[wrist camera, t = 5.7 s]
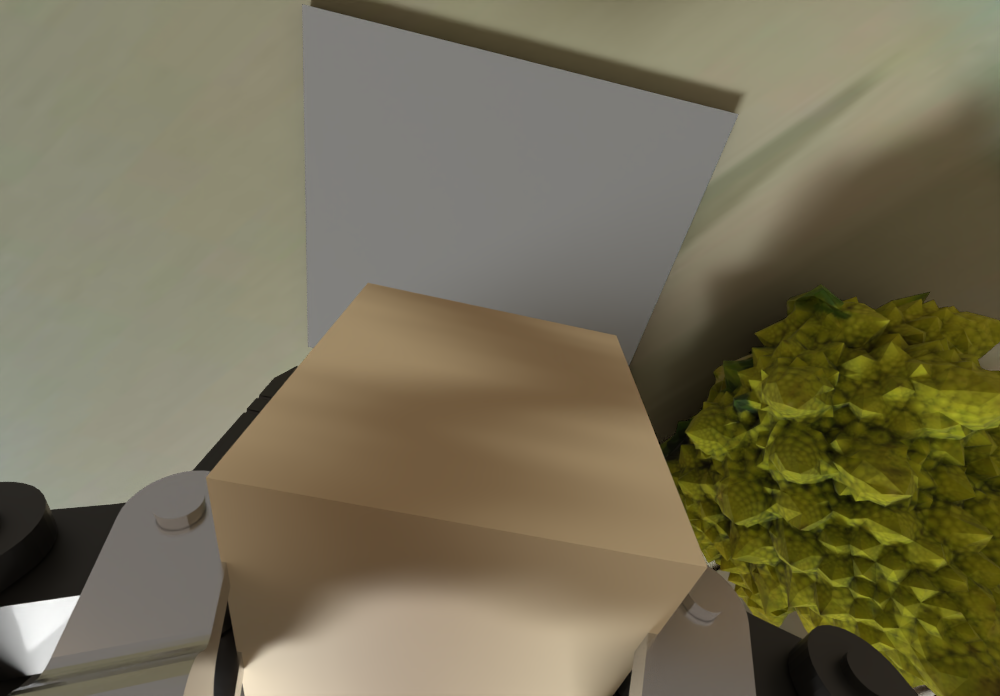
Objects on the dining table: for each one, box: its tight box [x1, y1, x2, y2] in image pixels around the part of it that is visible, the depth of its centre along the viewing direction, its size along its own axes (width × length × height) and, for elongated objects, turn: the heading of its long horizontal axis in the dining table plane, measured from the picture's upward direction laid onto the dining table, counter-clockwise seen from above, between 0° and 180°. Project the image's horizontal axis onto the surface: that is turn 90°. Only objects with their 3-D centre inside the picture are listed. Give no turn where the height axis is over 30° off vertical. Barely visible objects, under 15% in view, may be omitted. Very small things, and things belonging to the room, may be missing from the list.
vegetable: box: [660, 285, 1000, 696], centre depth 20 cm, size 15×16×15 cm
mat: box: [302, 4, 738, 366], centre depth 19 cm, size 16×14×1 cm
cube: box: [206, 283, 707, 696], centre depth 8 cm, size 5×5×5 cm
